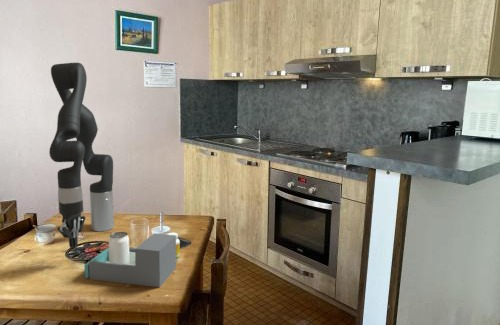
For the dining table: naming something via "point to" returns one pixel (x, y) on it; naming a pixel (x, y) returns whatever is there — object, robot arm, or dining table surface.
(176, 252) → the supplement bottle
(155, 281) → the dock
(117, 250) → the can
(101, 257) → the tray
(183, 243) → the phone
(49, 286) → the dining table surface
